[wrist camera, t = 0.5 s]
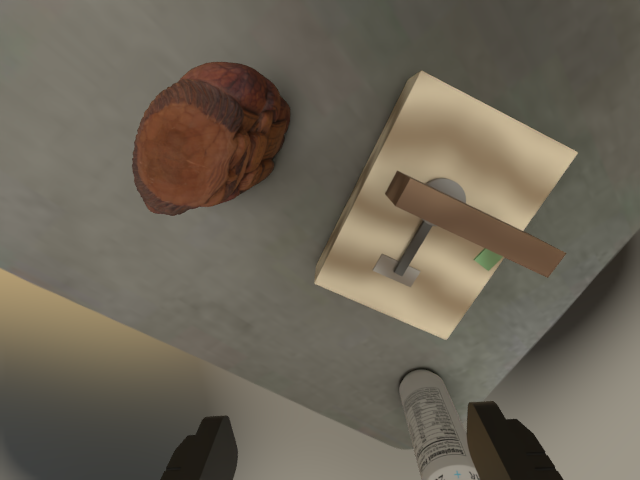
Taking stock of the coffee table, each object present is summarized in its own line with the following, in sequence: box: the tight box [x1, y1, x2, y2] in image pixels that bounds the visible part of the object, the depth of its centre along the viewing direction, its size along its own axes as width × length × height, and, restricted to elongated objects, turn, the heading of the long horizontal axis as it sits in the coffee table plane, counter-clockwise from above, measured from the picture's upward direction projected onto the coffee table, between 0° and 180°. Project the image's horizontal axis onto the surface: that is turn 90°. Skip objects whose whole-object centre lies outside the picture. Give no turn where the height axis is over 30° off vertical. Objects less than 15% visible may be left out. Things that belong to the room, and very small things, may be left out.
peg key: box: [385, 171, 566, 278], centre depth 27 cm, size 10×12×9 cm
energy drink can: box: [399, 370, 480, 480], centre depth 37 cm, size 6×6×15 cm
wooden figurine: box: [132, 62, 290, 216], centre depth 26 cm, size 12×6×18 cm, turn 154°
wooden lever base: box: [314, 71, 578, 340], centre depth 33 cm, size 22×16×5 cm
